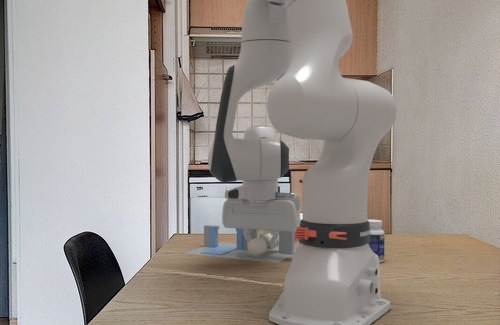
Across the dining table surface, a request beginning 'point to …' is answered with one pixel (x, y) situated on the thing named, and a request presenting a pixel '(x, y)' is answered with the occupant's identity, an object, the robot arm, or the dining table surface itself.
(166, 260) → the dining table surface
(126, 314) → the dining table surface
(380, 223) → the pill bottle
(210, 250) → the base plate with posts
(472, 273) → the dining table surface
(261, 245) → the cream bolster roll
